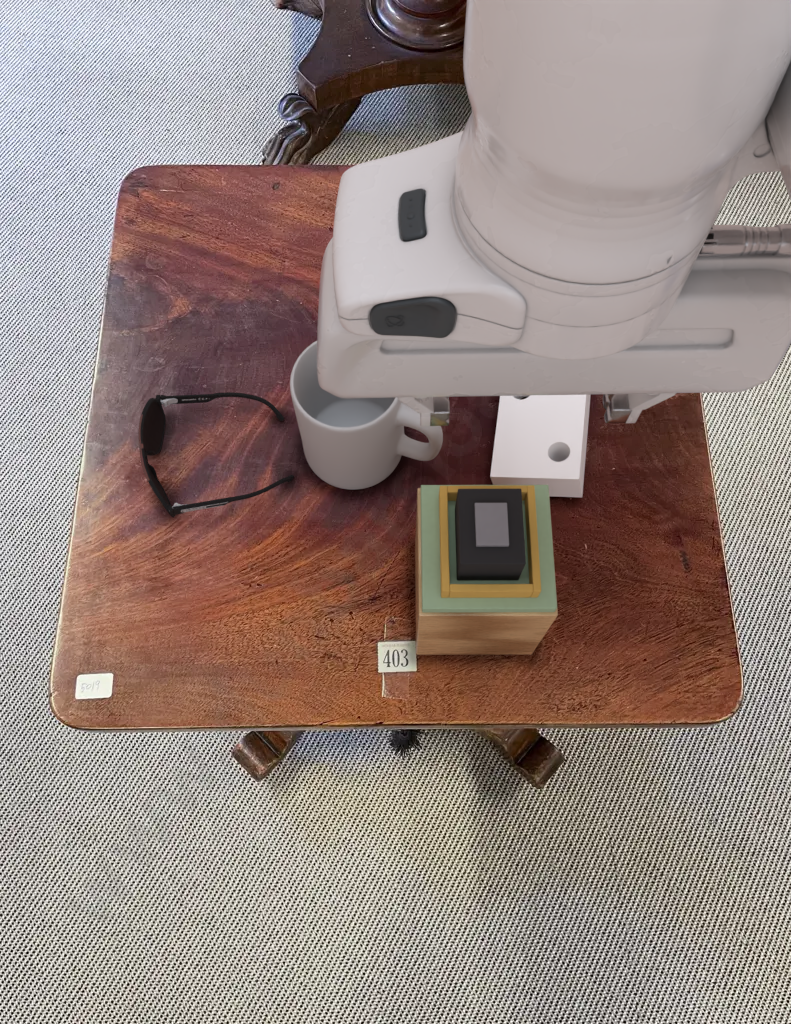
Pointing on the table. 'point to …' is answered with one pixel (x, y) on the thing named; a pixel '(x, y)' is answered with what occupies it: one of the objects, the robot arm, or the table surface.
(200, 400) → the sunglasses
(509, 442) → the bracket
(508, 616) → the stand
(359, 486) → the mug
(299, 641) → the table surface
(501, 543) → the black block
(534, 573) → the base pad
